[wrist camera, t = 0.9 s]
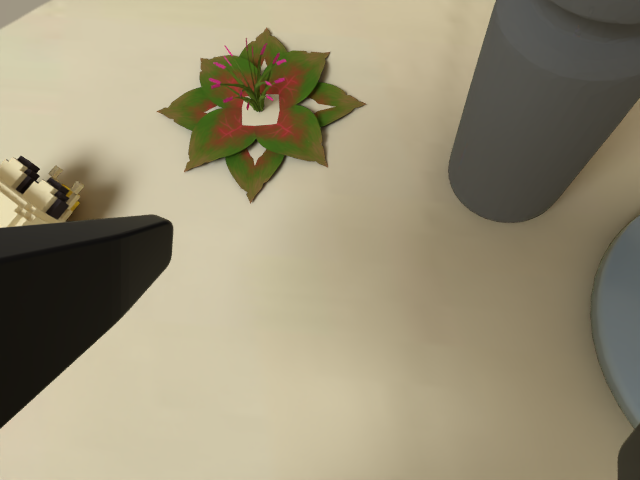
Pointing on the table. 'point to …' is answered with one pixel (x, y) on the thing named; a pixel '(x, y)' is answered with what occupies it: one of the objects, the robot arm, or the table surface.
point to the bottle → (543, 101)
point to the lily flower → (245, 80)
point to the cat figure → (33, 195)
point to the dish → (619, 319)
